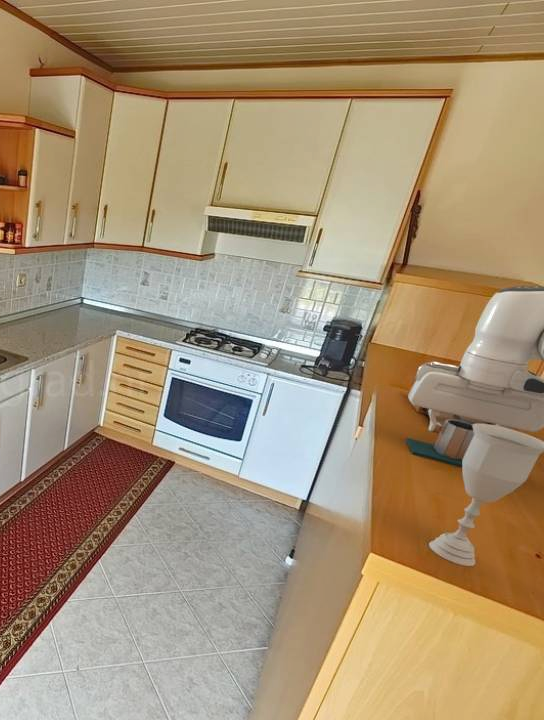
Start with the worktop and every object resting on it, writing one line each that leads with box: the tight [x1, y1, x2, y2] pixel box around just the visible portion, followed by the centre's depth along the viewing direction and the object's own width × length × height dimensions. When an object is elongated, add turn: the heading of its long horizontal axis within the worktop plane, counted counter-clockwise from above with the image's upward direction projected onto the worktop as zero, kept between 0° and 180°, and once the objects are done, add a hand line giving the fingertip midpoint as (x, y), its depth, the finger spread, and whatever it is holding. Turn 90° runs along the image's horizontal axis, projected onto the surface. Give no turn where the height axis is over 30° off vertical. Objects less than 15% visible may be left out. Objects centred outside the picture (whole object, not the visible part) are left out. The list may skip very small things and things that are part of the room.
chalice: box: [428, 423, 544, 567], centre depth 64 cm, size 7×7×18 cm
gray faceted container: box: [434, 419, 474, 461], centre depth 97 cm, size 6×6×6 cm
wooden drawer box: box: [424, 408, 512, 429], centre depth 113 cm, size 19×13×6 cm
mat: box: [405, 437, 462, 468], centre depth 98 cm, size 14×8×1 cm, turn 61°
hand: (459, 437), depth 96 cm, fingers open, 7 cm apart
